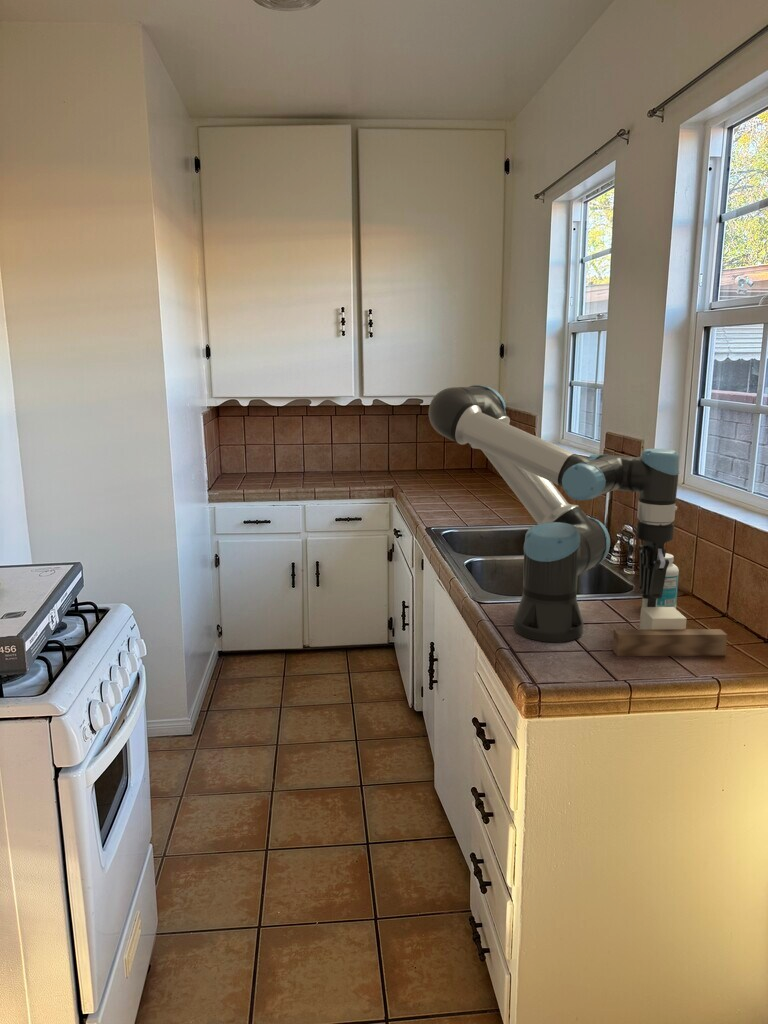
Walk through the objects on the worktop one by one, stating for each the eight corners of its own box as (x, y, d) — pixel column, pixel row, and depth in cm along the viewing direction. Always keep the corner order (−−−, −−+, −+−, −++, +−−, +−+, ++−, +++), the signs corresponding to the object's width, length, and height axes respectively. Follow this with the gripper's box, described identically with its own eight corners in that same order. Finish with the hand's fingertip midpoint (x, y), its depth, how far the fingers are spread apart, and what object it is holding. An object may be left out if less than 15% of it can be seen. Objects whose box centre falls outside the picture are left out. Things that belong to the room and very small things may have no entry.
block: (650, 650, 152) (652, 618, 151) (638, 637, 159) (641, 607, 157) (683, 650, 152) (686, 618, 151) (671, 637, 159) (673, 607, 157)
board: (617, 655, 149) (618, 635, 148) (612, 650, 152) (614, 629, 151) (725, 655, 149) (727, 634, 148) (718, 649, 152) (720, 629, 151)
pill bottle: (649, 602, 181) (653, 549, 179) (680, 608, 177) (684, 554, 174) (638, 610, 176) (642, 555, 173) (669, 616, 171) (674, 561, 168)
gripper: (684, 528, 151) (675, 636, 156) (663, 514, 164) (655, 614, 169) (647, 528, 151) (639, 635, 156) (629, 514, 164) (622, 614, 169)
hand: (647, 624), depth 162 cm, fingers closed
